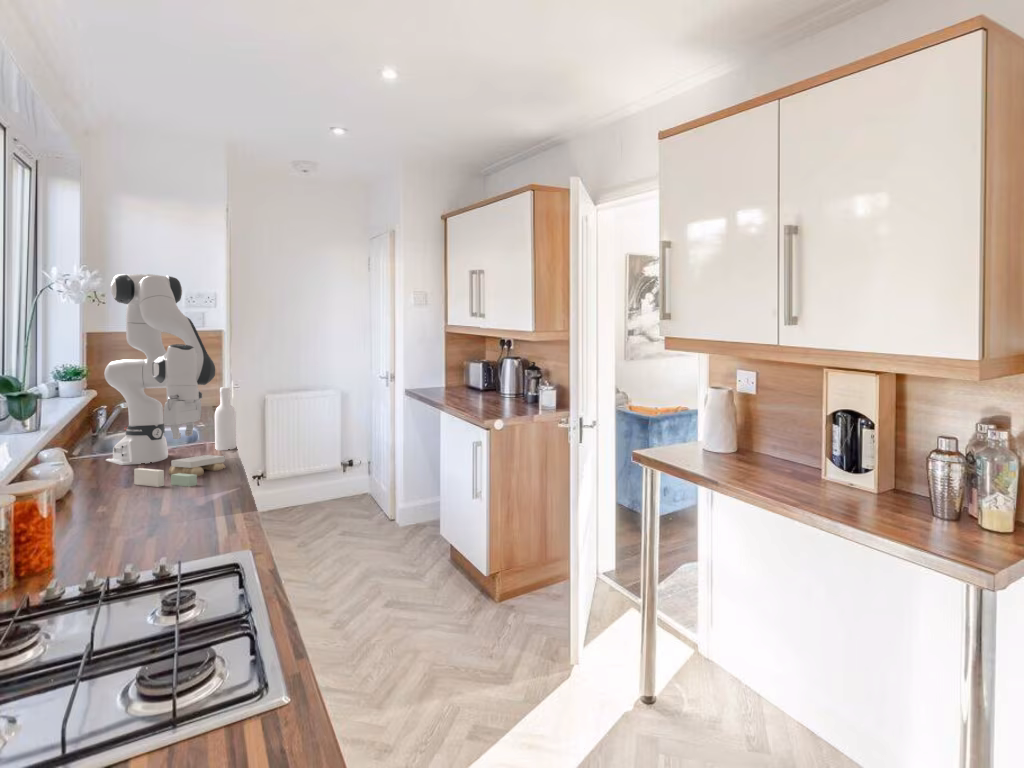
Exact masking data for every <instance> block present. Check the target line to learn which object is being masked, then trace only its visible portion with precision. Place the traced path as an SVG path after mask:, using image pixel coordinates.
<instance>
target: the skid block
mask: <svg viewBox="0 0 1024 768" xmlns="http://www.w3.org/2000/svg"><path fill="white" fill-rule="evenodd" d="M170 485H171V486H178V487H188V488H190V487H194V486H197V485H198V477H197V475H194V474H183V473H177V474H172V475H171V474H170Z"/></svg>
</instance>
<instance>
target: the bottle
mask: <svg viewBox="0 0 1024 768" xmlns="http://www.w3.org/2000/svg"><path fill="white" fill-rule="evenodd" d="M219 403H220V404H219V405H218V406H217V407H216V409H215V412H214V450H215V449H216V450H215V451H229V450H228V449H230V450H233V449H236V448H237V411H236V409H235V407H234V406H233V405H231V387H227V386H225V387H223V386H222V387H220V388H219Z"/></svg>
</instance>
